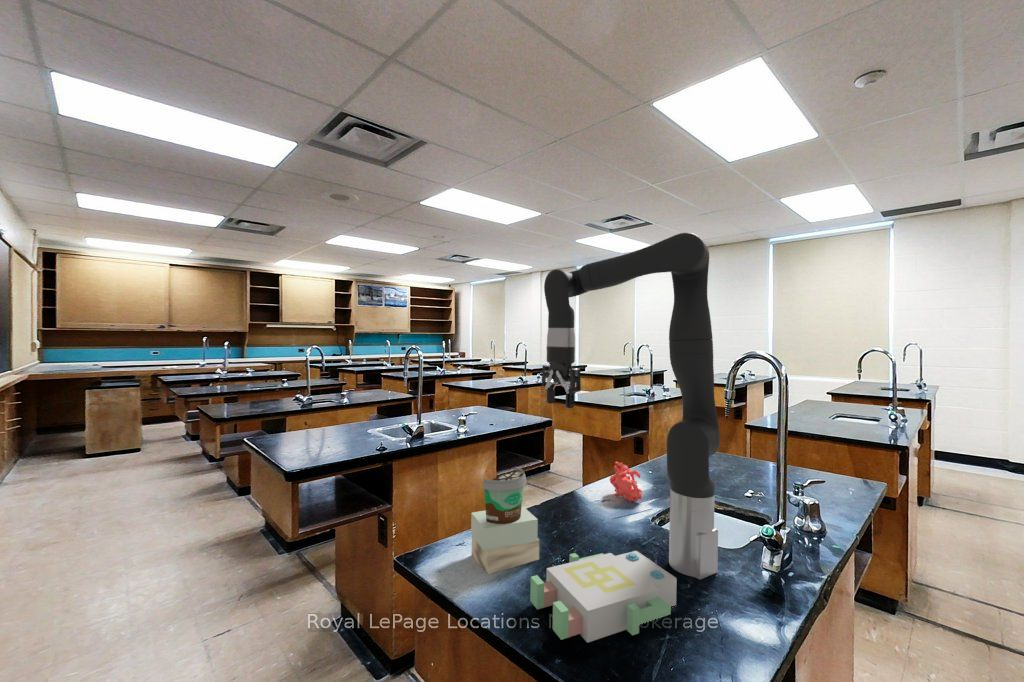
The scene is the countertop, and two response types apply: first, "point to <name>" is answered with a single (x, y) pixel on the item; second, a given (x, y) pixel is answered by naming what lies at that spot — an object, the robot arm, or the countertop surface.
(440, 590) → the countertop surface
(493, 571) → the tower base block
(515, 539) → the tower top block
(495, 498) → the food container
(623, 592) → the decorative block
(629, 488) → the anatomical heart
